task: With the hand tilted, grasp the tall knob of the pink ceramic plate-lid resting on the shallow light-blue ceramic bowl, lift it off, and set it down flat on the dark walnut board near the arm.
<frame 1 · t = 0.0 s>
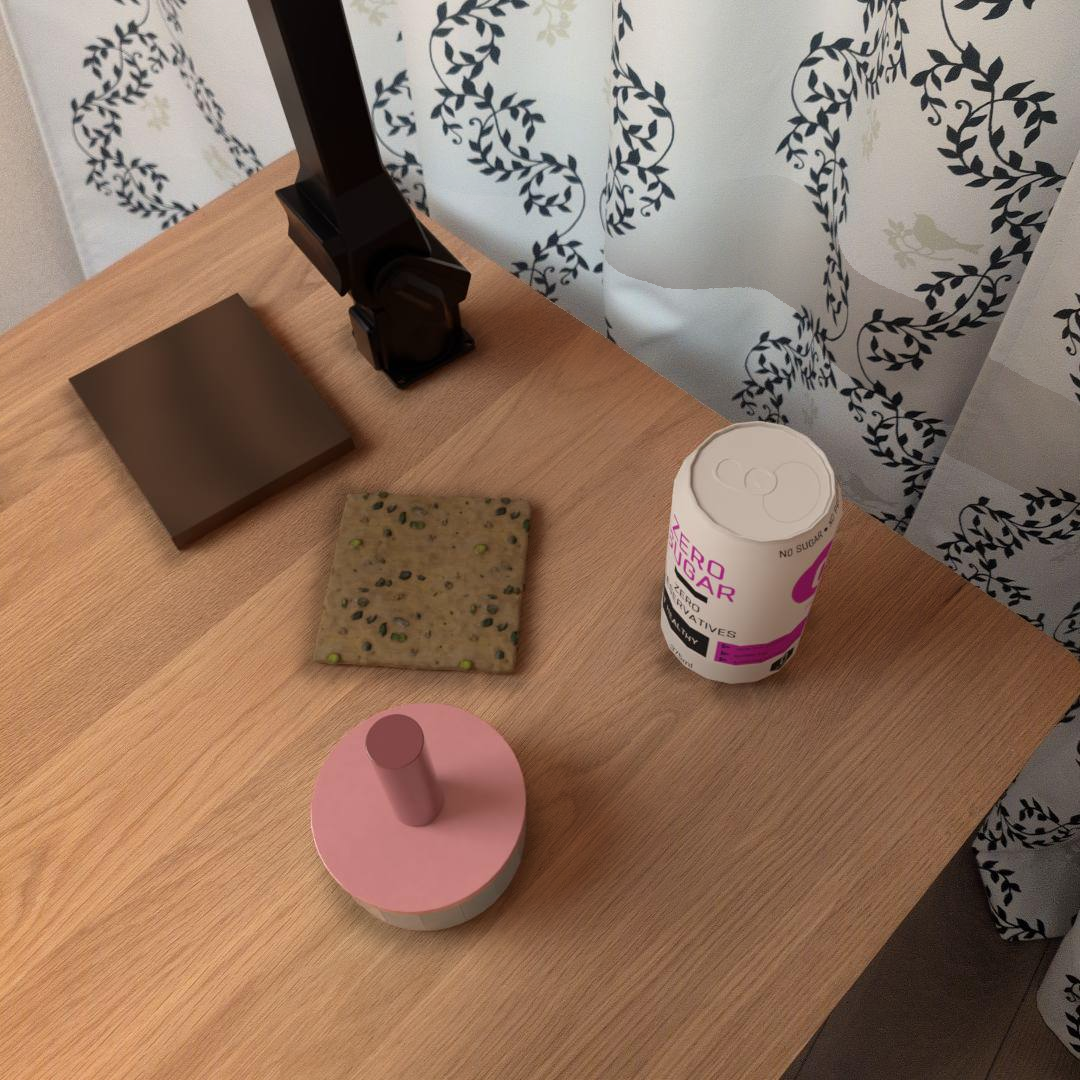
cookie: (426, 582, 70), on the table
board: (213, 420, 77), on the table
bowl: (430, 833, 62), on the table
supplement can: (729, 626, 68), on the table
lid: (419, 805, 58), point 4 cm above the table, touching bowl
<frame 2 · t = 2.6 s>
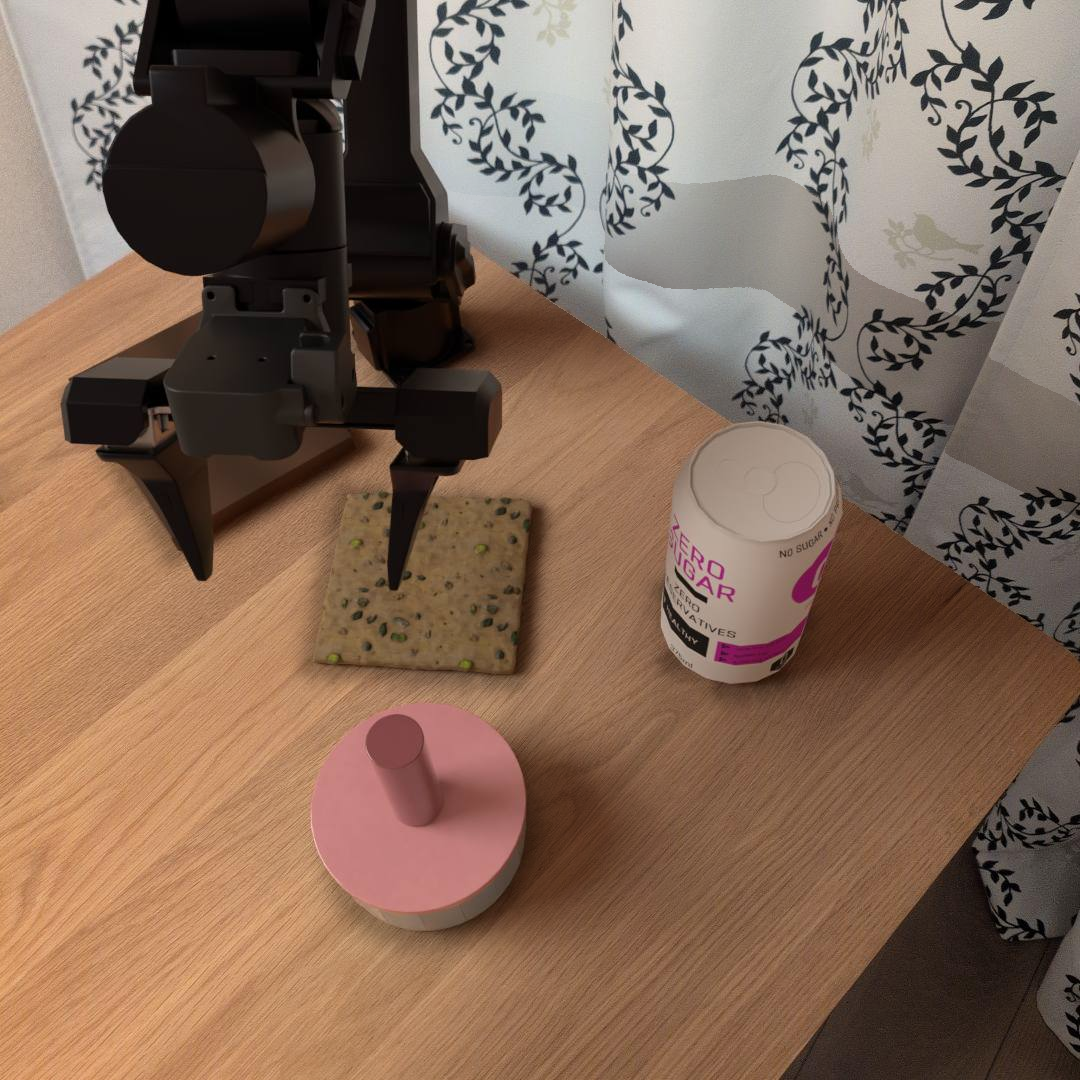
hand: (299, 583, 55), 14 cm above the table, tool tilted 40°, fingers open, 9 cm apart
nothing on the table moved.
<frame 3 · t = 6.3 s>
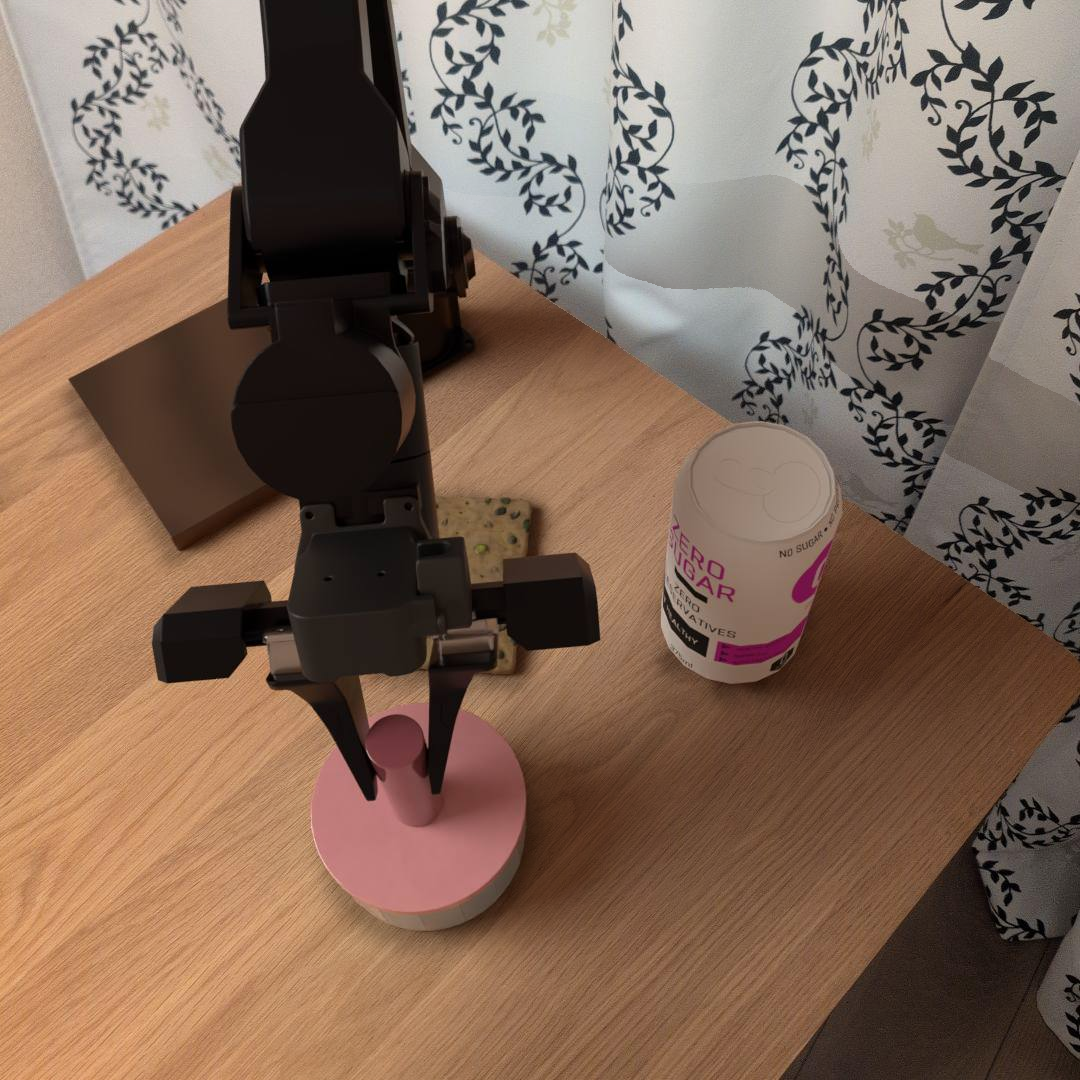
hand: (404, 794, 52), 10 cm above the table, tool tilted 45°, fingers closed on lid, 2 cm apart
lid: (419, 805, 58), point 5 cm above the table, touching bowl, gripper
everything else where it was.
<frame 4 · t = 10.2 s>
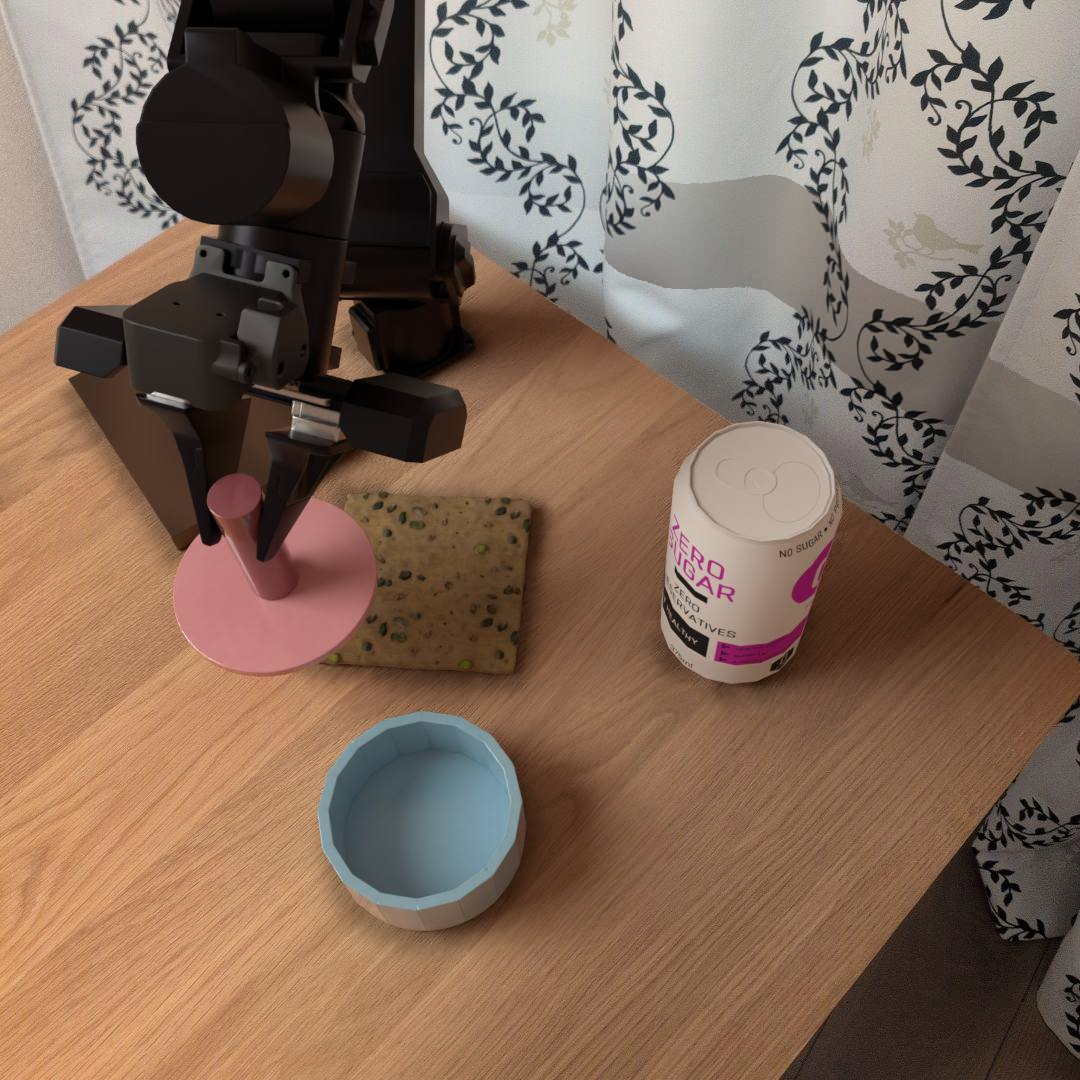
hand: (237, 552, 56), 13 cm above the table, tool tilted 45°, fingers closed on lid, 2 cm apart
lid: (277, 584, 61), point 8 cm above the table, touching gripper
everything else where it was.
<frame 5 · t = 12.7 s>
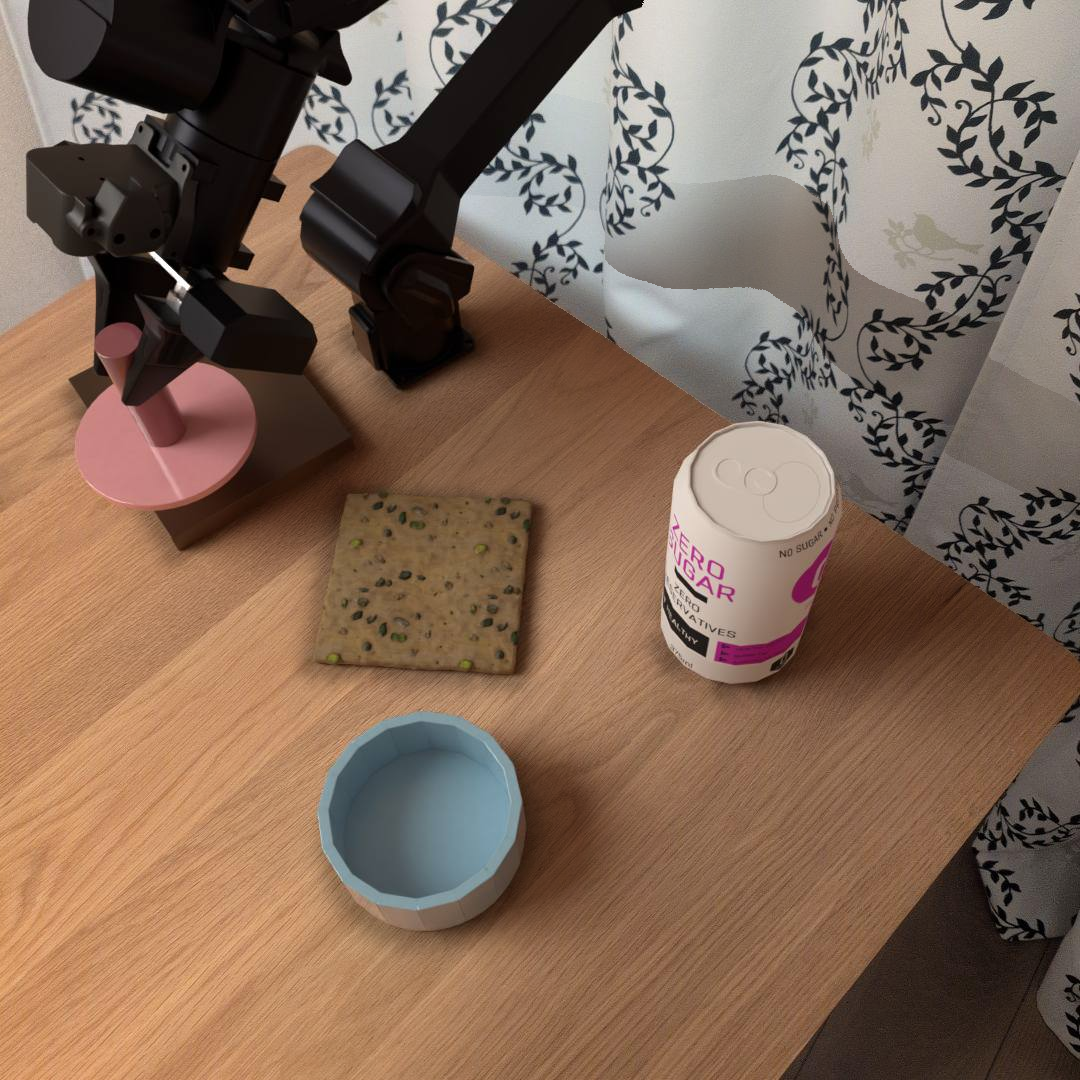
hand: (115, 389, 64), 11 cm above the table, tool tilted 45°, fingers closed on lid, 2 cm apart
lid: (168, 436, 69), point 6 cm above the table, touching gripper
everything else where it was.
when the fingers open (8 cm above the table, at t = 14.2 s): lid stays where it is, resting on board.
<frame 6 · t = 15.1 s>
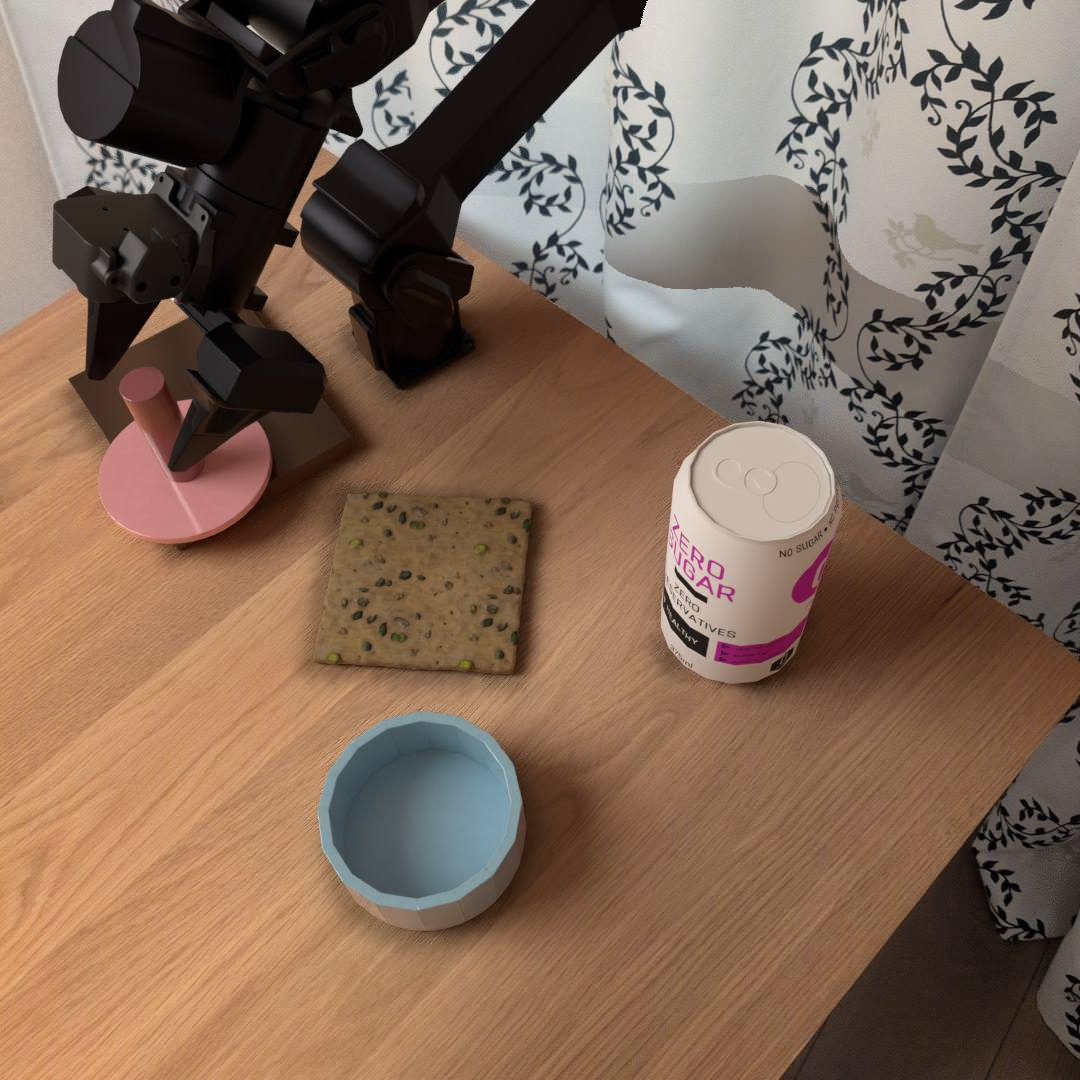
hand: (133, 423, 67), 8 cm above the table, tool tilted 45°, fingers open, 9 cm apart
lid: (187, 471, 73), point 2 cm above the table, touching board
everything else where it was.
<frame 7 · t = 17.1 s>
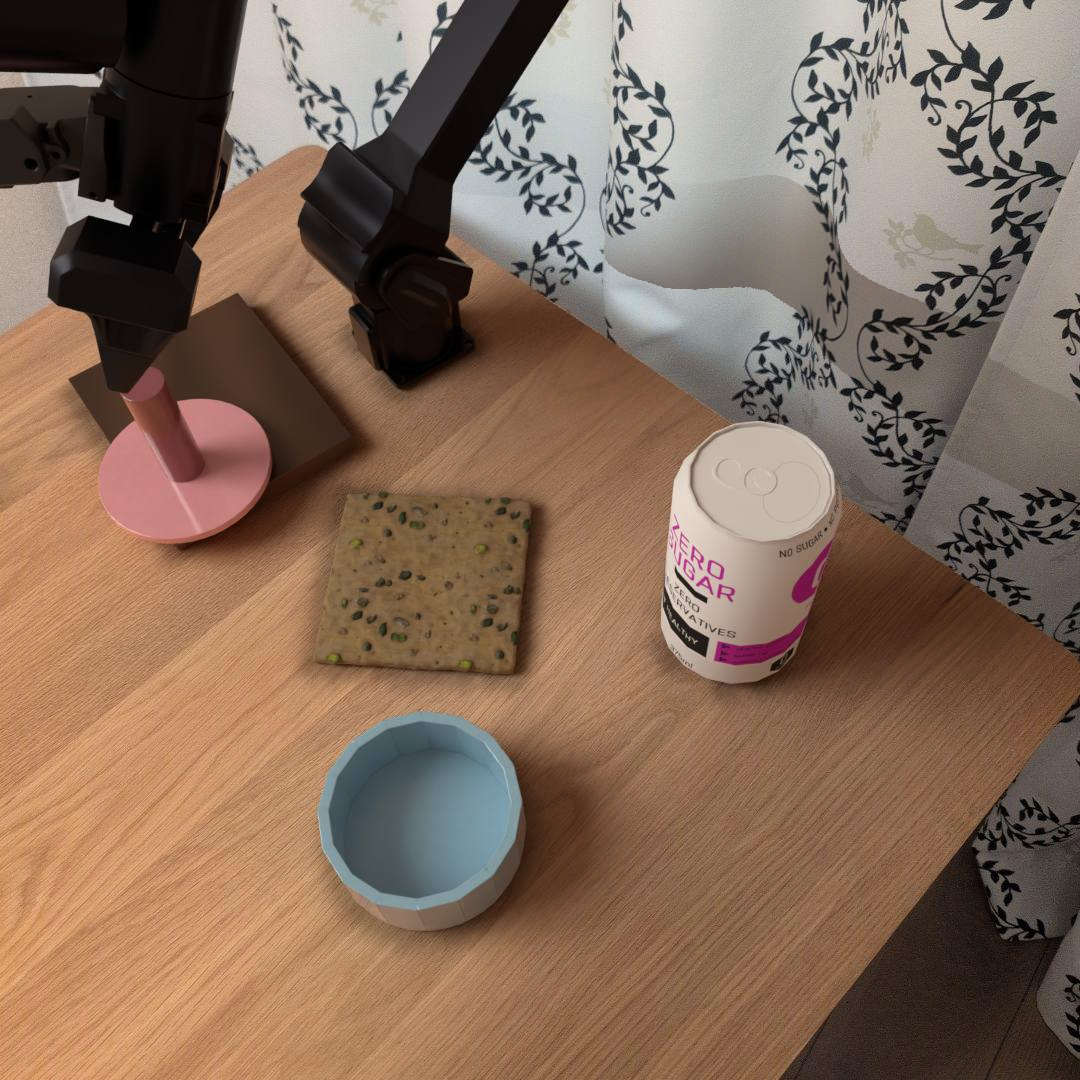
hand: (133, 343, 64), 13 cm above the table, tool tilted 30°, fingers open, 9 cm apart
nothing on the table moved.
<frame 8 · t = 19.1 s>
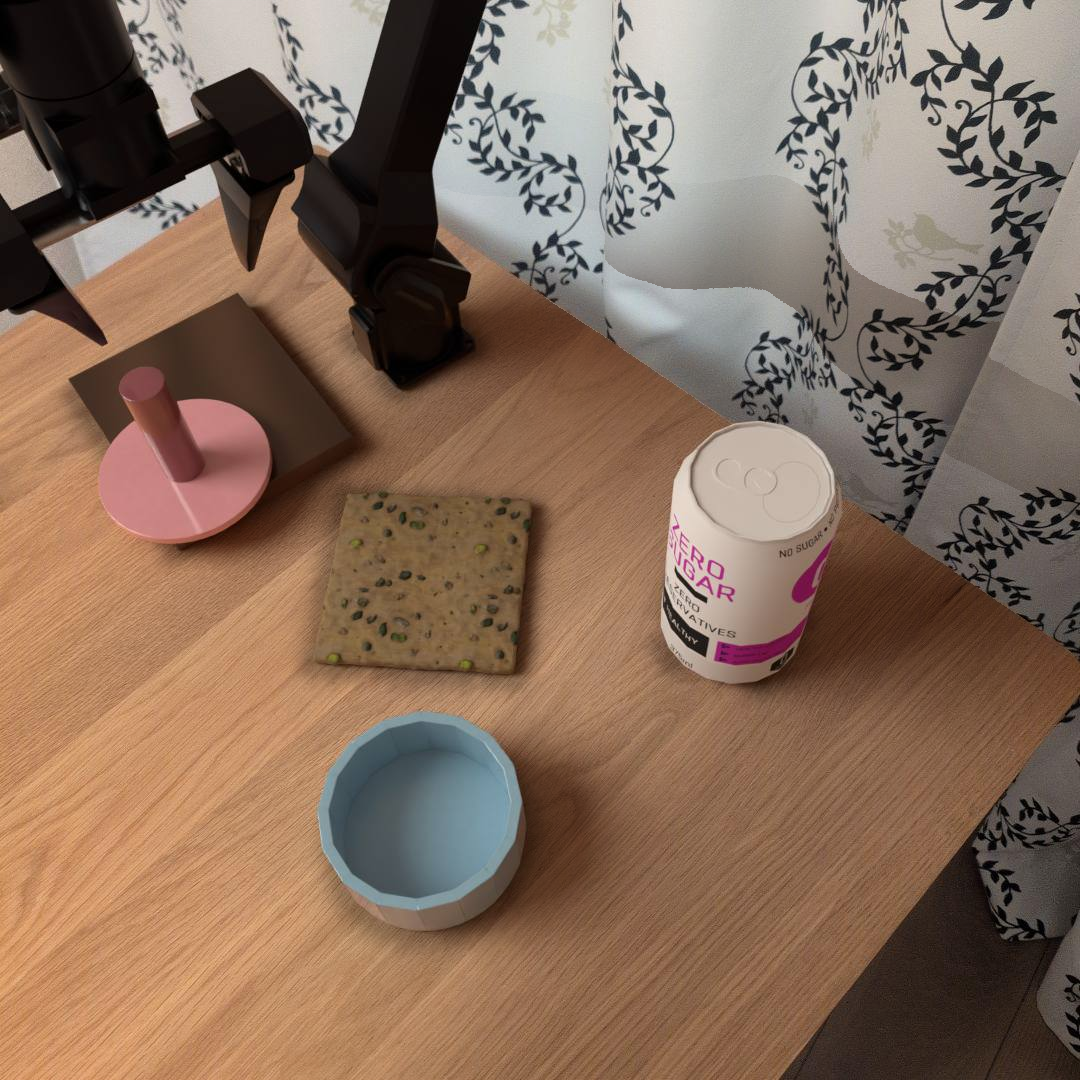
hand: (176, 302, 65), 13 cm above the table, tool pointing down, fingers open, 9 cm apart
nothing on the table moved.
at the end: lid inside the target area on the board (5.7 cm from its centre), point 2.1 cm above the board's base; lid tilted 0°; the gripper is holding nothing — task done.
